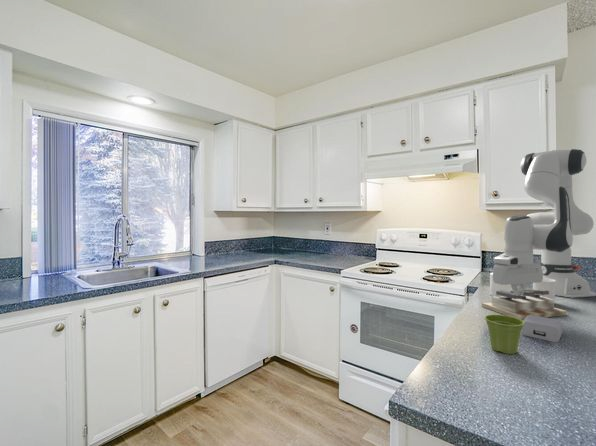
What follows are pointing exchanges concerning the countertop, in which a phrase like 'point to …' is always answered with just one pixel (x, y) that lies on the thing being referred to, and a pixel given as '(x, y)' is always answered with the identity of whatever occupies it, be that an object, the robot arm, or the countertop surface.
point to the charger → (542, 328)
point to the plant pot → (504, 332)
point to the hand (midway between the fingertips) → (518, 295)
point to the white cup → (546, 287)
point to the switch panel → (520, 316)
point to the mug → (497, 287)
